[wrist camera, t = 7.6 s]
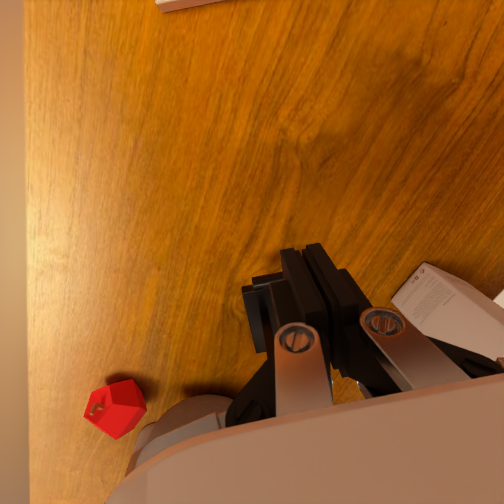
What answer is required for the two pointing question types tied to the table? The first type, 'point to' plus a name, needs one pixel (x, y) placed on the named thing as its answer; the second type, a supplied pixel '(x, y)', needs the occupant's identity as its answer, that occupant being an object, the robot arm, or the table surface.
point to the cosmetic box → (452, 311)
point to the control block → (180, 4)
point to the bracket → (263, 321)
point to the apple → (116, 408)
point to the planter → (189, 413)
